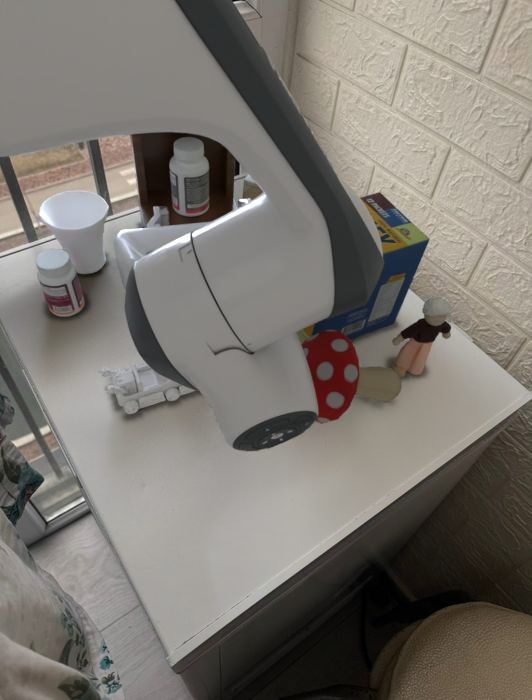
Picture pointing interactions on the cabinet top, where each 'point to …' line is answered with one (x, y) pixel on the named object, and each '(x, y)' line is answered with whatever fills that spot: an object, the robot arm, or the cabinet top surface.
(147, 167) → the shelf
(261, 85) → the robot arm
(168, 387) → the toy car
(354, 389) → the decorative mushroom
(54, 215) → the cup
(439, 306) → the grandmother figurine
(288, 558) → the cabinet top surface
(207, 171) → the pill bottle
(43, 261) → the pill bottle
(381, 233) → the protein box
